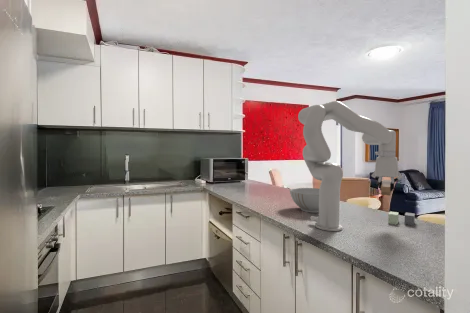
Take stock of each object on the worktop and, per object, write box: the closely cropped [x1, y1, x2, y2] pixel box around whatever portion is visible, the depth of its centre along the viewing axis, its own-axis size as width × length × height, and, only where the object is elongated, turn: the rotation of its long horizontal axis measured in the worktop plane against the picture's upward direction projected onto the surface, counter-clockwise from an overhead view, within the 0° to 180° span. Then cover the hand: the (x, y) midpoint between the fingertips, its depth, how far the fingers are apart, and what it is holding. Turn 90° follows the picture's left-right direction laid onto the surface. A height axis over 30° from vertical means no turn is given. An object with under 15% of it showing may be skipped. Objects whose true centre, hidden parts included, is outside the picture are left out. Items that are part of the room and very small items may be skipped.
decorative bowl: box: [289, 187, 320, 214], centre depth 164 cm, size 27×27×12 cm
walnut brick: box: [380, 179, 392, 196], centre depth 136 cm, size 7×4×5 cm, turn 143°
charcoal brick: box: [403, 212, 416, 226], centre depth 138 cm, size 7×4×5 cm, turn 143°
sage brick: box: [387, 210, 400, 225], centre depth 139 cm, size 7×4×5 cm, turn 143°
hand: (386, 189), depth 135 cm, fingers closed on walnut brick, 4 cm apart
